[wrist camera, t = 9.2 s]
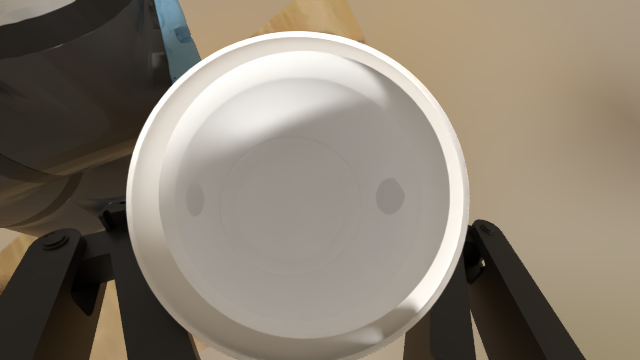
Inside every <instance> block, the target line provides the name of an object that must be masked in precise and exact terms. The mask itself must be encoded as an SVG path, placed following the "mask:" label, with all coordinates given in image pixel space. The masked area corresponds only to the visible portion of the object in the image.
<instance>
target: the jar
mask: <svg viewBox="0 0 640 360" xmlns="http://www.w3.org/2000/svg"><path fill="white" fill-rule="evenodd" d="M388 178H394V179H395V180H396V181H397V182H398V184H399V185H400V187H401V188H402V190H403V191H404V193H405V198H404V202H403V205H402V206H401V208H400V209H399V210H398V211H397V212H396V213H394V214H390V215H388V214H385V213H383V212H382V211H381V210H380V209H379V208H378V206H377V202H376V193H377V189H378V187H379V185H380V184H381V183H382V182H383V181H384V180H385V179H388ZM192 183H198V184H200V186H201V187H202V189H203V193H204V206H203V210H202V212H201V213H200V214H199V215H198V216H192V215H191V214H190V212H189V211H188V208H187V204H186V195H187V191H188V188H189V187H190V185H191V184H192ZM469 194H470V193H469V181H468V174H467V168H466V164H465V159H464V156H463V152H462V149H461V146H460V143H459V141H458V138H457V136H456V133H455V131H454V129H453V127H452V125H451V123H450V121H449V119H448V117H447V116H446V114H445V112H444V111H443V110H442V108H441V106H440V105H439V103H438V102H437V101H436V99H435V98H434V97H433V95H432V94H431V93H430V92H429V91H428V89H427V88H426V87H425V86H424V85H423V84H422V83H421V82H420V81H419V80H418V79H417V78H416V77H415V76H414V75H413V74H411V73H410V72H409V71H408V70H407V69H405V68H404V67H403V66H401V65H400V64H399V63H397V62H396V61H394V60H393V59H391V58H390V57H388V56H386V55H385V54H383V53H381V52H379V51H377V50H375V49H373V48H371V47H369V46H367V45H364V44H362V43H359V42H357V41H354V40H351V39H347V38H344V37H340V36H336V35H331V34H325V33H318V32H303V31H293V32H279V33H271V34H266V35H261V36H256V37H253V38H249V39H246V40H243V41H240V42H237V43H235V44H232V45H230V46H227V47H225V48H223V49H221V50H219V51H217V52H215V53H213V54H212V55H210V56H208V57H207V58H205V59H203V60H202V61H200V62H199V63H198V64H196V65H195V66H193V67H192V68H191V69H190V70H188V71H187V72H186V73H185V74H184V75H183V76H181V77H180V78H179V79H178V80H177V81H176V82H175V83H174V84H173V85H172V86H171V87H170V89H169V90H168V91H167V92H166V93H165V94H164V96H163V97H162V98H161V99H160V101H159V102H158V103H157V105H156V106H155V108H154V109H153V111H152V112H151V114H150V116H149V117H148V119H147V121H146V123H145V125H144V127H143V129H142V131H141V133H140V135H139V138H138V140H137V143H136V146H135V149H134V152H133V155H132V159H131V163H130V167H129V173H128V179H127V189H126V213H127V223H128V230H129V235H130V239H131V243H132V247H133V250H134V254H135V256H136V259H137V262H138V264H139V267H140V269H141V271H142V273H143V275H144V277H145V279H146V281H147V283H148V285H149V286H150V288H151V290H152V291H153V293H154V294H155V296H156V297H157V299H158V300H159V301H160V303H161V304H162V305H163V307H164V308H165V309H166V310H167V311H168V313H169V314H170V315H171V316H172V317H173V318H174V319H175V320H176V321H177V322H178V323H179V324H180V325H181V326H182V327H184V328H185V329H186V330H187V331H188V332H190V333H191V334H192V335H193V336H195V337H196V338H198V339H199V340H200V341H202V342H203V343H205V344H207V345H208V346H210V347H212V348H213V349H216V350H217V351H219V352H221V353H223V354H226V355H228V356H230V357H232V358H235V359H238V360H358V359H360V358H363V357H365V356H367V355H369V354H372V353H374V352H376V351H378V350H380V349H382V348H383V347H385V346H387V345H388V344H390V343H392V342H393V341H395V340H396V339H398V338H399V337H400V336H402V335H403V334H404V333H406V332H407V331H408V330H409V329H410V328H412V327H413V326H414V325H415V324H416V323H417V322H418V321H419V320H420V319H421V318H422V317H423V316H424V315H425V314H426V313H427V312H428V311H429V309H430V308H431V307H432V306H433V304H434V303H435V302H436V301H437V299H438V298H439V296H440V295H441V293H442V292H443V290H444V289H445V287H446V285H447V284H448V282H449V280H450V278H451V276H452V274H453V272H454V270H455V268H456V265H457V263H458V260H459V258H460V255H461V252H462V249H463V245H464V242H465V237H466V233H467V227H468V220H469V207H470V206H469V205H470V195H469Z"/></svg>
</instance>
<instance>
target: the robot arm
mask: <svg viewBox="0 0 640 360" xmlns="http://www.w3.org/2000/svg"><path fill="white" fill-rule="evenodd" d="M190 35H191V33H190V31H189V29H188V26H187V24H186V20H185V17H184V14H183V11H182V9H181V7H180V4H179V2H178V0H0V228H6V229H10V230H13V231H17V232H20V233H24V234H28V235H31V236H35V237H39V238H38V239H37V240H35V241H34V242H33V243H32V244H31V245H30V246H29V248H28V250H27V251H26V253H25V255H24V256H23V258H22V260H21V262H20V263H19V265H18V267H17V269H16V270H15V272H14V274H13V275H12V277H11V279H10V281H9V282H8V284H7V286H6V287H5V289H4V291H3V293H2V294H1V296H0V360H89V358H90V353H91V349H92V345H93V341H94V337H95V332H96V328H97V324H98V320H99V315H100V311H101V307H102V303H103V298H104V294H105V290H106V286H107V282H108V281H110V280H114V279H115V284H116V290H117V296H118V302H119V308H120V314H121V321H122V327H123V333H124V339H125V345H126V351H127V357H128V360H201V359H200V356H199V354H198V351H197V348H196V345H195V342H194V340H193V337H192V334H191V333H190V332H188V331H187V330H186V329H185V328H184V327H182V326H181V325H180V324H179V323H178V322H177V321H176V320H175V319H174V318H173V317H172V316H171V315H170V314H169V313H168V311H167V310H166V309H165V308H164V307H163V305H162V304H161V303H160V301H159V300H158V299H157V297H156V296H155V294H154V293H153V291H152V290H151V288H150V286H149V285H148V283H147V281H146V279H145V277H144V275H143V273H142V271H141V269H140V267H139V264H138V262H137V259H136V256H135V254H134V250H133V247H132V243H131V239H130V235H129V230H128V223H127V213H126V189H127V179H128V173H129V167H130V163H131V159H132V155H133V152H134V149H135V146H136V143H137V140H138V138H139V135H140V133H141V131H142V129H143V127H144V125H145V123H146V121H147V119H148V117H149V116H150V114H151V112H152V111H153V109H154V108H155V106H156V105H157V103H158V102H159V101H160V99H161V98H162V97H163V96H164V94H165V93H166V92H167V91H168V90H169V89H170V87H171V86H172V85H173V84H174V83H175V82H176V81H177V80H178V79H179V78H180V77H181V76H183V75H184V74H185V73H186V72H187V71H188V70H190V69H191V68H192V67H193V66H195V65H196V64H198V63H199V62H200V61H201V59H200V56H199V53H198V51H197V48H196V45H195V43H194V41H193V39H192V38H191V36H190ZM404 198H405V193H404V191H403V190H402V188H401V187H400V185H399V184H398V182H397V181H396V180H395V179H394V178H388V179H385V180H384V181H383V182H382V183H381V184H380V185H379V187H378V189H377V193H376V202H377V206H378V208H379V209H380V210H381V211H382V212H383V213H385V214H388V215H390V214H394V213H396V212H397V211H398V210H399V209H400V208H401V206H402V205H403V202H404ZM186 204H187V208H188V211H189V212H190V214H191V215H192V216H198V215H199V214H200V213H201V212H202V210H203V206H204V193H203V189H202V187H201V186H200V184H198V183H192V184H191V185H190V187H189V188H188V191H187V195H186ZM483 260H484V262H485V266H483V264H482V261H483ZM470 310H471V312H472V315H473V318H474V321H475V324H476V326H477V329H478V332H479V334H480V337H481V340H482V343H483V345H484V348H485V351H486V353H487V356H488V359H489V360H586V359H585V358H584V356H583V355H582V353H581V352H580V350H579V348H578V347H577V345H576V344H575V343H574V341H573V340H572V338H571V336H570V335H569V333H568V332H567V330H566V329H565V327H564V326H563V324H562V323H561V321H560V320H559V318H558V317H557V315H556V314H555V312H554V310H553V309H552V307H551V306H550V304H549V303H548V301H547V300H546V298H545V297H544V295H543V294H542V292H541V291H540V289H539V288H538V286H537V285H536V283H535V282H534V280H533V279H532V277H531V275H530V274H529V272H528V271H527V269H526V268H525V266H524V265H523V263H522V262H521V260H520V259H519V257H518V256H517V254H516V253H515V252H514V250H513V248H512V247H511V245H510V244H509V242H508V241H507V239H506V237H505V236H504V235H503V233H502V231H500V229H499V228H498V227H497V226H495V225H494V224H492V223H490V222H488V221H485V220H479V219H478V220H476V221H475V222H474V223H473V224H472V226H470V225H468V227H467V233H466V237H465V242H464V245H463V249H462V252H461V255H460V258H459V260H458V263H457V265H456V268H455V270H454V272H453V274H452V276H451V278H450V280H449V282H448V284H447V285H446V287H445V289H444V290H443V292H442V293H441V295H440V296H439V298H438V299H437V301H436V302H435V303H434V304H433V306H432V307H431V308H430V309H429V311H428V312H427V313H426V314H425V315H424V316H423V317H422V318H421V319H420V320H419V321H418V322H417V323H416V324H415V325H414V326H413V327H412V328H410V329H409V330H408V331H407V332H406V335H405V345H404V355H403V360H476V354H475V346H474V338H473V330H472V322H471V314H470Z"/></svg>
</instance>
